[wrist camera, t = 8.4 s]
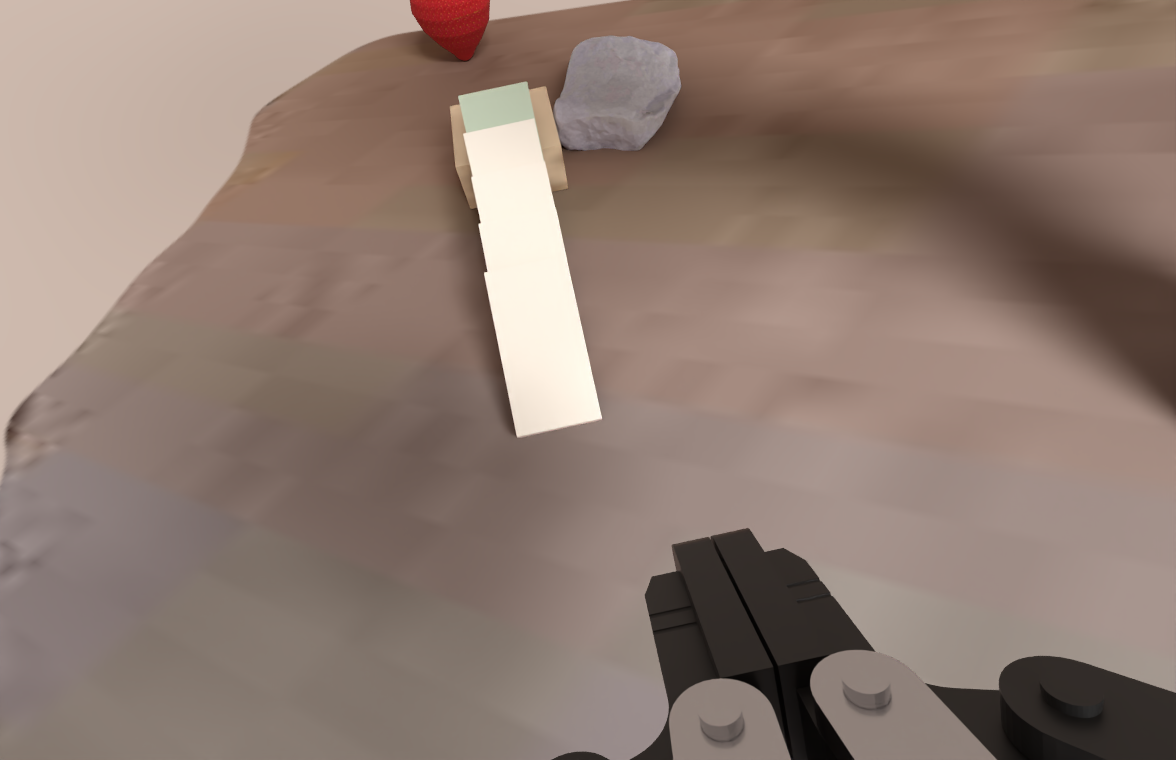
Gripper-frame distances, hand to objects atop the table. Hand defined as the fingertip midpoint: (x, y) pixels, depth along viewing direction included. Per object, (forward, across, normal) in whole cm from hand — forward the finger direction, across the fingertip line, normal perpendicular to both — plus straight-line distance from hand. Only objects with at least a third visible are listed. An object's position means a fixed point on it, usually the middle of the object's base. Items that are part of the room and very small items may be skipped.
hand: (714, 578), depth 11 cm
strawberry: (+54, +7, -27) cm, 61 cm away
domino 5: (+22, +4, +3) cm, 23 cm away
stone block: (+45, -6, -17) cm, 49 cm away
